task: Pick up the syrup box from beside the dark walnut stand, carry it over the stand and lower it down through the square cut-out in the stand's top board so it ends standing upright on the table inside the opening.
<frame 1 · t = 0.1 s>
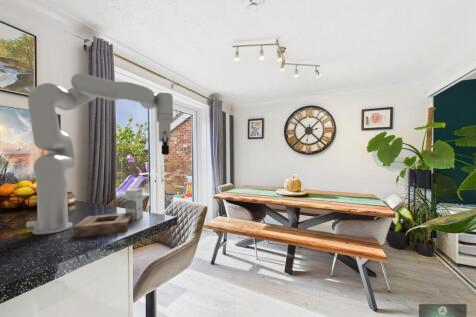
hand: (165, 154, 102), 31 cm above the counter, tool pointing down, fingers open, 9 cm apart
syrup box: (134, 218, 104), on the counter
walnut stand: (106, 228, 89), on the counter
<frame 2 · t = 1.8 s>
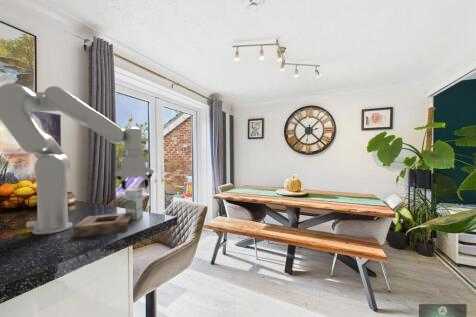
hand: (135, 188, 104), 15 cm above the counter, tool pointing down, fingers open, 9 cm apart
nothing on the counter moved.
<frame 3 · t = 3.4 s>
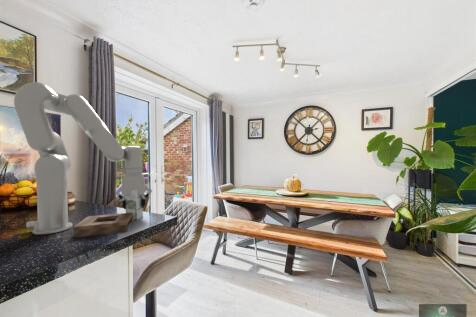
hand: (134, 207, 104), 5 cm above the counter, tool pointing down, fingers closed on syrup box, 7 cm apart
syrup box: (134, 218, 104), on the counter, touching gripper
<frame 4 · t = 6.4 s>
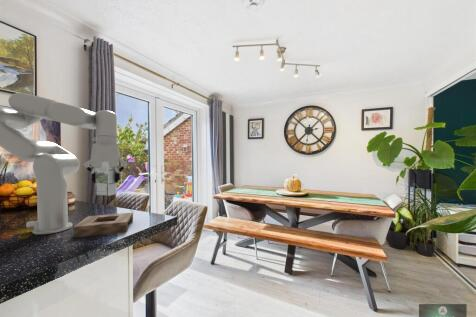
hand: (106, 182, 90), 19 cm above the counter, tool pointing down, fingers closed on syrup box, 7 cm apart
syrup box: (106, 195, 90), point 14 cm above the counter, touching gripper
when the fingers open (7 cm above the counter, at t = 9.4 s): syrup box drops 1 cm, on the counter.
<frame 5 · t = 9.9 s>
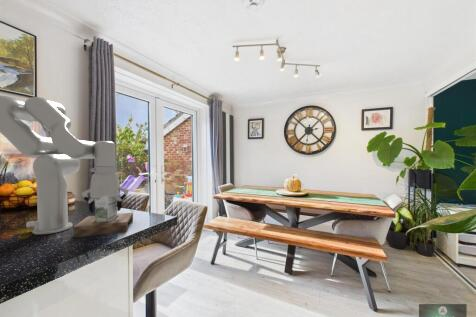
hand: (106, 211, 89), 7 cm above the counter, tool pointing down, fingers open, 9 cm apart
syrup box: (106, 228, 90), on the counter
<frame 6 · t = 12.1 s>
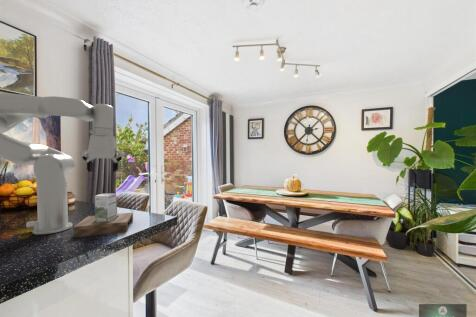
hand: (102, 171, 94), 24 cm above the counter, tool pointing down, fingers open, 9 cm apart
nothing on the counter moved.
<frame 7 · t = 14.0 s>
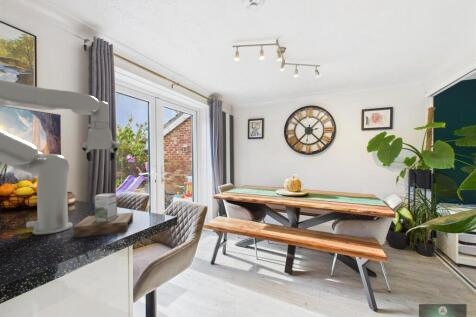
hand: (101, 160, 106), 28 cm above the counter, tool pointing down, fingers open, 9 cm apart
nothing on the counter moved.
at the end: syrup box 0.0 cm off-centre on the walnut stand, point 0.0 cm above the walnut stand's base; syrup box tilted 0°; the gripper is holding nothing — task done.
